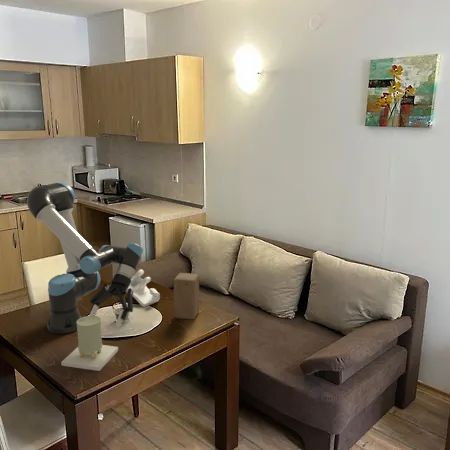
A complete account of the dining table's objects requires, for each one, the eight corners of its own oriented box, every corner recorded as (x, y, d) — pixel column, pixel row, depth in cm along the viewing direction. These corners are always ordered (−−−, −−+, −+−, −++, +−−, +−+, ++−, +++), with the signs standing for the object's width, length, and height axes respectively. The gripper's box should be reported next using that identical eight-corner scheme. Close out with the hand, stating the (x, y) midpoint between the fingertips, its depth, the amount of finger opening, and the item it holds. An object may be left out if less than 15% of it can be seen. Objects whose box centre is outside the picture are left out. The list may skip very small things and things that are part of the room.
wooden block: (194, 320, 217) (193, 280, 212) (173, 318, 218) (173, 278, 214) (199, 311, 226) (199, 273, 221) (180, 310, 228) (179, 271, 223)
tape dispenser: (157, 308, 242) (164, 290, 235) (140, 315, 233) (147, 296, 227) (134, 283, 251) (140, 265, 244) (117, 289, 242) (123, 271, 236)
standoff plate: (61, 365, 178) (60, 354, 176) (83, 345, 193) (82, 335, 192) (99, 370, 174) (98, 360, 173) (118, 350, 189) (117, 340, 188)
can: (84, 340, 187) (82, 313, 184) (105, 342, 186) (104, 315, 183) (74, 352, 178) (72, 323, 176) (96, 354, 177) (95, 325, 174)
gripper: (151, 285, 197) (133, 332, 187) (103, 276, 206) (83, 321, 197) (144, 277, 191) (124, 325, 181) (95, 269, 200) (74, 314, 190)
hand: (103, 323), depth 189 cm, fingers open, 13 cm apart
